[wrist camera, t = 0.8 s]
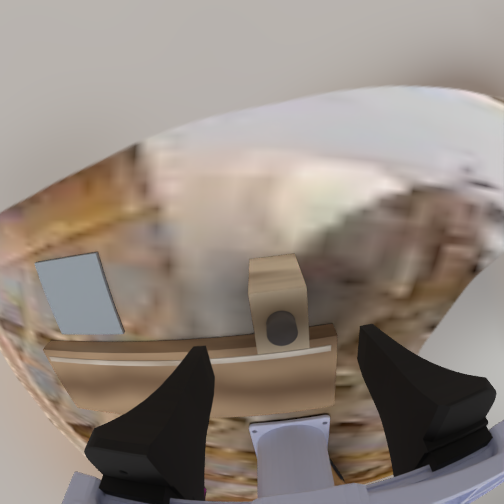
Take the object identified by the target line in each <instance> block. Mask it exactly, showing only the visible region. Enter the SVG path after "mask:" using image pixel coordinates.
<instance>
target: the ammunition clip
mask: <svg viewBox="0 0 504 504" xmlns="http://www.w3.org/2000/svg"><path fill="white" fill-rule="evenodd" d="M329 460H330V465H331V470H332V475H333V480H334V486H338V485H343V484H345V482H344V479H343V477H342V475H341V474H340V473H339V471H338V470H337V468H336V467H335V465H334V464H333V462H332V461H331V459H330V458H329Z"/></svg>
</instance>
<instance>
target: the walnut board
mask: <svg viewBox="0 0 504 504" xmlns="http://www.w3.org/2000/svg"><path fill="white" fill-rule="evenodd" d="M193 346H206V348H207V351H208V355H209V358H210V362H211V365H212V368H213V372H214V375H215V387H214V398H213V403H212V408H211V413H210V418H225V417H245V416H259V415H270V414H279V413H288V412H296V411H303V410H310V409H317V408H323V407H328V406H334V397H335V382H336V363H337V333H336V331H335V328H334V326H333V324H326V325H320V326H313V327H309V346H310V348H305V349H298V350H290V351H283V352H274V353H265V354H258V352H257V346H256V340H255V334H249V335H239V336H228V337H217V338H203V339H188V340H169V341H140V342H78V341H52V340H51V341H50V342H49V343H48V344H47V345H46V346H45V348H44V349H43V351H44V353H45V355H46V356H47V358H48V360H49V362H50V364H51V366H52V367H53V369H54V371H55V372H56V374H57V376H58V378H59V379H60V381H61V383H62V384H63V386H64V387H65V389H66V391H67V392H68V394H69V395H70V397H71V398H72V400H73V401H74V403H75V404H76V406H77V407H78V408H82V409H88V410H94V411H101V412H109V413H117V414H125V413H127V412H128V411H130V410H131V409H133V408H134V407H136V406H137V405H138V404H140V403H141V402H143V401H144V400H145V399H146V398H148V397H149V396H150V395H151V394H152V393H153V392H155V391H156V390H157V389H158V388H159V387H160V386H161V385H162V384H163V383H164V381H165V380H166V379H167V378H168V377H169V376H170V375H171V374H172V373H173V371H174V370H175V369H176V368H177V366H178V365H179V364H180V363H181V361H182V360H183V359H184V358H185V356H186V355H187V354H188V352H189V351H190V350H191V349H192V347H193Z"/></svg>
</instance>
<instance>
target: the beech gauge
mask: <svg viewBox="0 0 504 504" xmlns="http://www.w3.org/2000/svg"><path fill="white" fill-rule="evenodd" d="M248 297H249V303H250V310H251V316H252V322H253V328H254V334H255V340H256V346H257V352H258V354H265V353H274V352H283V351H290V350H298V349H305V348H310V346H309V322H308V303H307V287H306V284H305V281H304V278H303V276H302V273H301V270H300V267H299V265H298V262H297V259H296V257H295V254H286V255H278V256H271V257H263V258H255V259H249V283H248Z"/></svg>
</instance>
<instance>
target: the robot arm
mask: <svg viewBox="0 0 504 504" xmlns="http://www.w3.org/2000/svg"><path fill="white" fill-rule="evenodd" d="M357 359H358V363H359V366H360V370H361V373H362V376H363V378H364V381H365V383H366V385H367V387H368V390H369V392H370V394H371V396H372V398H373V401H374V403H375V405H376V407H377V410H378V412H379V415H380V418H381V421H382V424H383V428H384V432H385V435H386V439H387V443H388V448H389V452H390V457H391V462H392V468H393V475H394V477H393V478H390V479H386V480H383V481H380V482H376V483H372V484H369V485H363V484H358V483H351V484H343V485H338V486H334V480H333V475H332V470H331V465H330V460H329V455H328V450H327V447H328V437H329V426H330V417H329V415H321V416H315V417H308V418H301V419H294V420H286V421H277V422H266V423H254V424H250V425H249V431H250V435H251V438H252V442H253V446H254V449H255V453H256V456H257V476H258V498H257V499H255V500H253V501H252V502H213V501H205V494H204V467H205V445H206V435H207V429H208V424H209V419H210V413H211V408H212V403H213V398H214V387H215V375H214V372H213V368H212V365H211V362H210V358H209V355H208V351H207V348H206V346H193V347H192V349H191V350H190V351H189V352H188V354H187V355H186V356H185V358H184V359H183V360H182V361H181V363H180V364H179V365H178V366H177V368H176V369H175V370H174V371H173V373H172V374H171V375H170V376H169V377H168V378H167V379H166V380H165V381H164V383H163V384H162V385H161V386H160V387H159V388H158V389H157V390H156V391H155V392H153V393H152V394H151V395H150V396H149V397H148V398H146V399H145V400H144V401H143V402H141V403H140V404H138V405H137V406H136V407H134V408H133V409H131V410H130V411H128V412H127V413H125V414H123V415H122V416H120V417H118V418H116V419H114V420H112V421H110V422H108V423H106V424H104V425H101V426H99V427H97V428H94V430H93V432H92V434H91V437H90V439H89V441H88V443H87V445H86V448H85V451H84V452H85V455H86V457H87V458H88V460H89V461H90V462H91V463H92V464H93V465H94V466H95V467H96V468H97V469H98V470H99V471H100V472H101V473H102V474H103V477H102V480H100V479H98V478H96V477H93V476H90V475H86V474H83V473H80V472H74V474H73V477H72V479H71V482H70V484H69V487H68V489H67V492H66V494H65V497H64V499H63V502H62V504H470V503H471V502H473V501H475V500H476V499H477V498H479V497H481V496H483V495H484V494H486V493H487V492H489V491H491V490H492V489H494V488H495V487H497V486H498V485H500V484H501V483H502V482H504V420H503V421H501V422H499V423H498V424H496V425H495V426H493V427H492V428H491V429H490V430H488V428H487V427H486V425H487V424H488V420H487V419H486V415H487V413H488V412H489V410H490V408H491V406H492V405H493V403H494V400H495V398H496V390H495V389H494V388H493V386H492V385H491V384H490V382H489V381H488V380H487V379H486V378H485V377H478V376H472V375H467V374H462V373H459V372H455V371H452V370H449V369H446V368H443V367H441V366H438V365H436V364H433V363H431V362H429V361H427V360H425V359H423V358H421V357H419V356H418V355H416V354H414V353H413V352H411V351H409V350H408V349H406V348H405V347H403V346H402V345H400V344H399V343H397V342H396V341H394V340H393V339H392V338H390V337H389V336H388V335H386V334H385V333H384V332H382V331H381V330H380V329H378V328H377V327H376V326H374V325H373V324H368V325H363V326H360V333H359V346H358V357H357Z"/></svg>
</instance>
